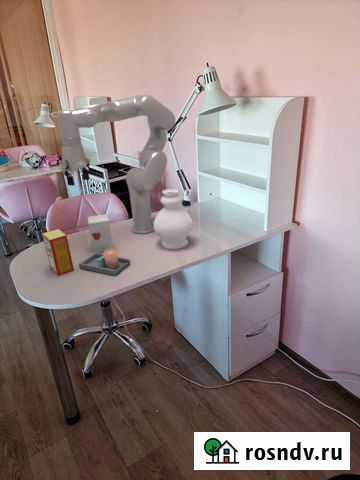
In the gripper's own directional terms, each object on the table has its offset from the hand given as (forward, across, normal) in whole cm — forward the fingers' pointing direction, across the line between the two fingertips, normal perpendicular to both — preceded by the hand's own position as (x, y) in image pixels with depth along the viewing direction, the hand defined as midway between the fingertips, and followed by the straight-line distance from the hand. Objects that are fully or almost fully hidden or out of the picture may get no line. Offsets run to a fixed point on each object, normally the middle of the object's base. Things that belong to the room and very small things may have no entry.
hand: (79, 182), depth 146 cm
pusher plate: (+30, +15, +21) cm, 40 cm away
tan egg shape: (+30, +15, +24) cm, 41 cm away
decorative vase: (+31, -15, +37) cm, 50 cm away
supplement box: (+31, +1, +8) cm, 32 cm away
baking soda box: (+31, +23, +4) cm, 38 cm away
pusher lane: (+30, +15, +20) cm, 39 cm away
